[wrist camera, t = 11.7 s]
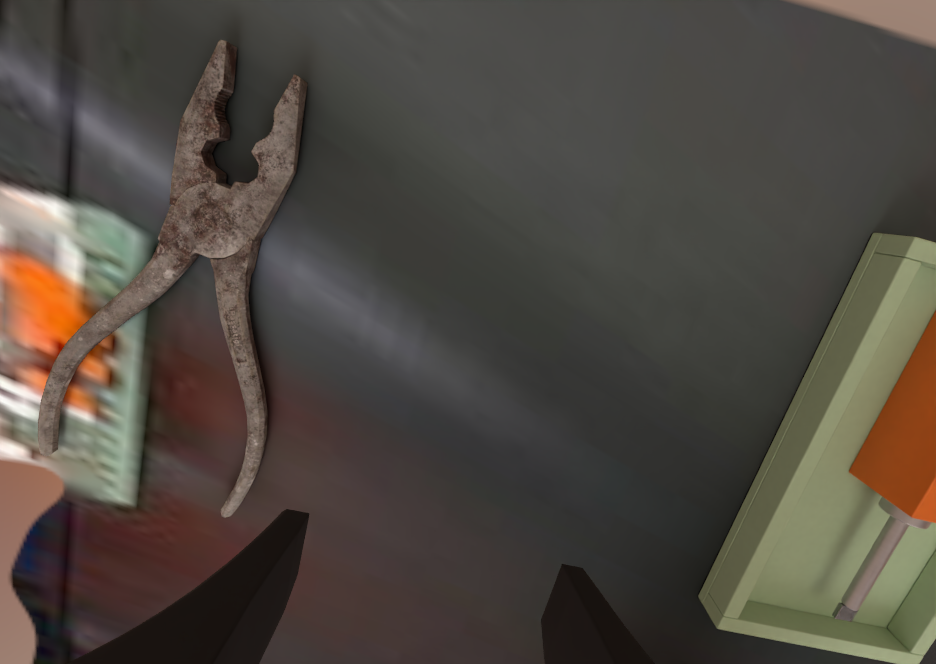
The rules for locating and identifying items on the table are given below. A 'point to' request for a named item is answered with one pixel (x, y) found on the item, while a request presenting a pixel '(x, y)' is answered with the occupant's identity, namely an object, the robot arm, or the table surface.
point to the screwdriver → (899, 466)
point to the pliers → (204, 247)
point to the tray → (837, 484)
